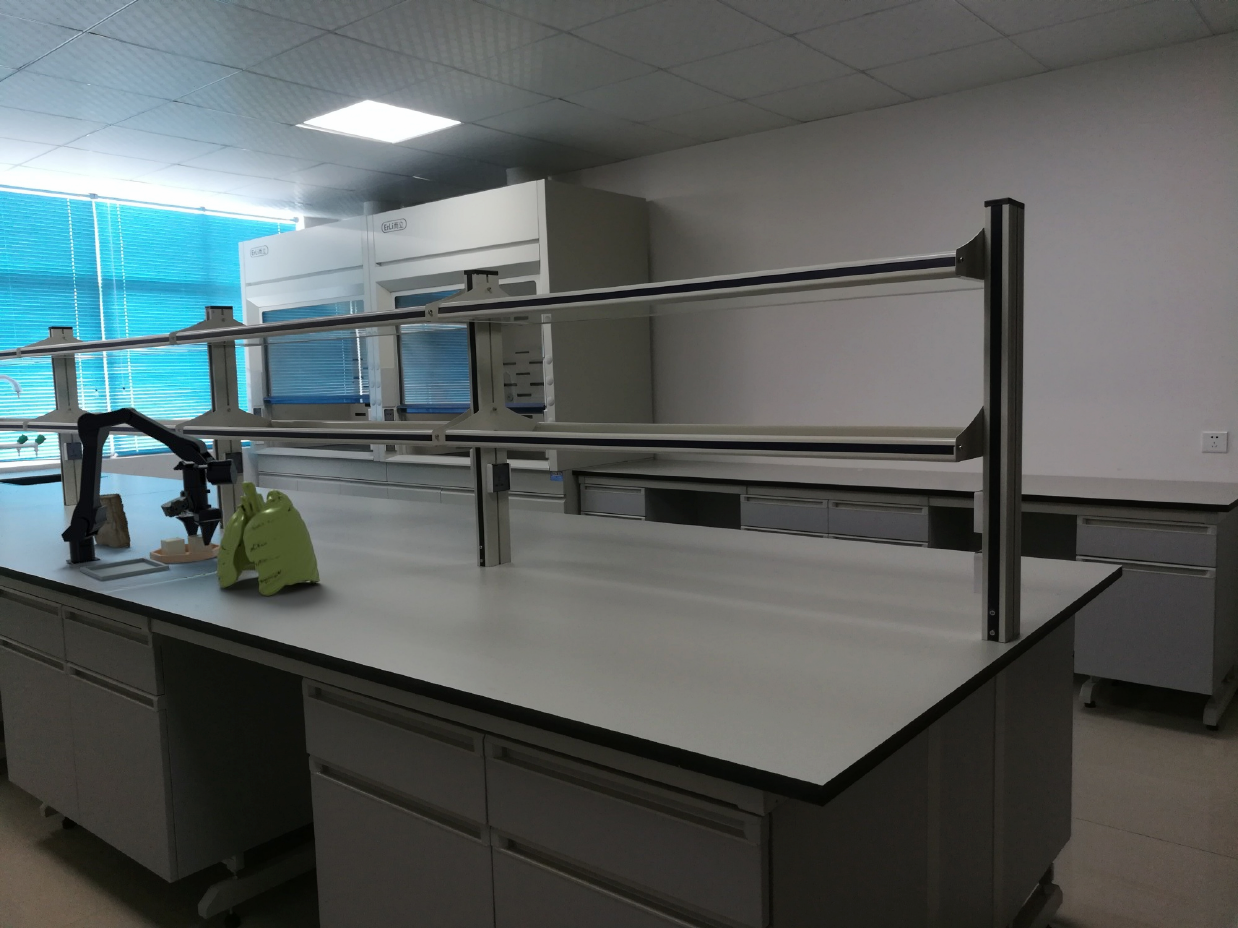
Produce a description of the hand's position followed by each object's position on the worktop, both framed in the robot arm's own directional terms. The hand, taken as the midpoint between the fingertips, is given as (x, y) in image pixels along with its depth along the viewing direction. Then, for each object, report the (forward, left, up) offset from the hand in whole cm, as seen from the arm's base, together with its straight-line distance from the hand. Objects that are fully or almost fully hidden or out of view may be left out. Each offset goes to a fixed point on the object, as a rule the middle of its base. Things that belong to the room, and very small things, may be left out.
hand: (199, 543), depth 240 cm
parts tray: (+5, -20, -3) cm, 21 cm away
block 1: (0, -7, -3) cm, 7 cm away
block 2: (0, 0, -3) cm, 3 cm away
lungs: (+49, -4, -4) cm, 49 cm away
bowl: (0, -3, -3) cm, 5 cm away
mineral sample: (-40, -10, -4) cm, 41 cm away
